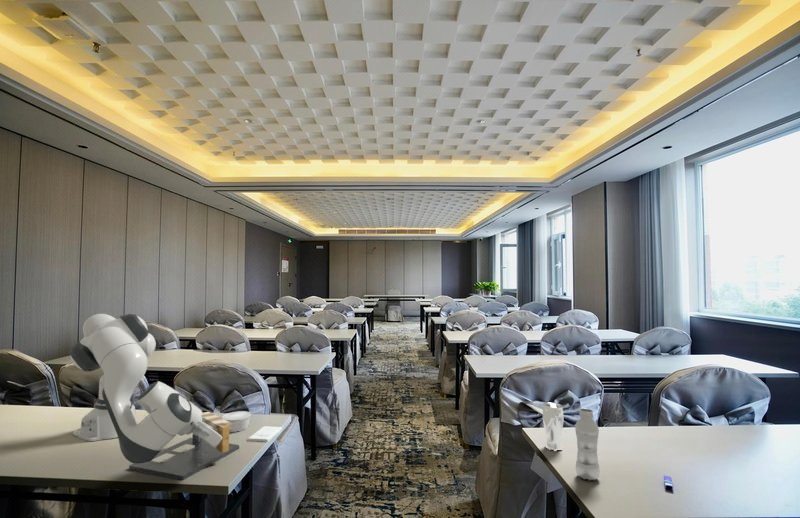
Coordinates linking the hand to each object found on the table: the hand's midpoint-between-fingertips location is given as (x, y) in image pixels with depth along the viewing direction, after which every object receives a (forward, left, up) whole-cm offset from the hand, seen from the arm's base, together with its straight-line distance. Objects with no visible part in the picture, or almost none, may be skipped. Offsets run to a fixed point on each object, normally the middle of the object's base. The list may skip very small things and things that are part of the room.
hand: (217, 442), depth 132 cm
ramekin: (-16, +27, -7) cm, 32 cm away
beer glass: (+105, +47, -7) cm, 115 cm away
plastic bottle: (+114, +26, -7) cm, 117 cm away
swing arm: (-6, +6, -3) cm, 9 cm away
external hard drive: (0, +25, -7) cm, 26 cm away
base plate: (-12, -1, -6) cm, 14 cm away
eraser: (+136, +28, -7) cm, 139 cm away
